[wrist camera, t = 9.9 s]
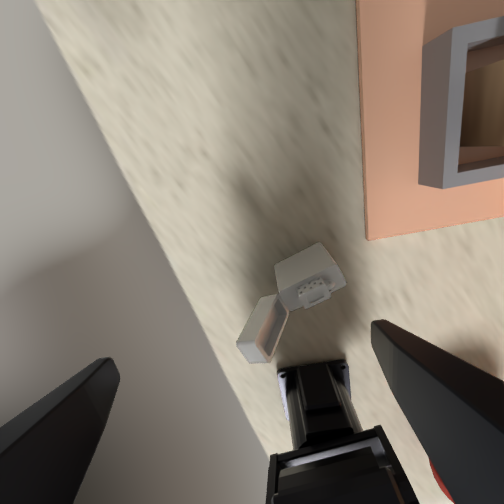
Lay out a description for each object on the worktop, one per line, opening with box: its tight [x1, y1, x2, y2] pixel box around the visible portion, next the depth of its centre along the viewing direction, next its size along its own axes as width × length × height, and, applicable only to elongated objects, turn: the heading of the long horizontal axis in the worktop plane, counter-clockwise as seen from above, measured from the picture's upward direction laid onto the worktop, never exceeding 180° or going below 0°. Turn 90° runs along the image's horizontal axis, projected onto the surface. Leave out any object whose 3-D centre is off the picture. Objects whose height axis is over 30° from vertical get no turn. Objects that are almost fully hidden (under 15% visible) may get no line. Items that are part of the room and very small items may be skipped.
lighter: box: [236, 242, 347, 363], centre depth 17 cm, size 7×2×8 cm, turn 120°
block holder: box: [356, 0, 504, 241], centre depth 16 cm, size 15×15×3 cm
